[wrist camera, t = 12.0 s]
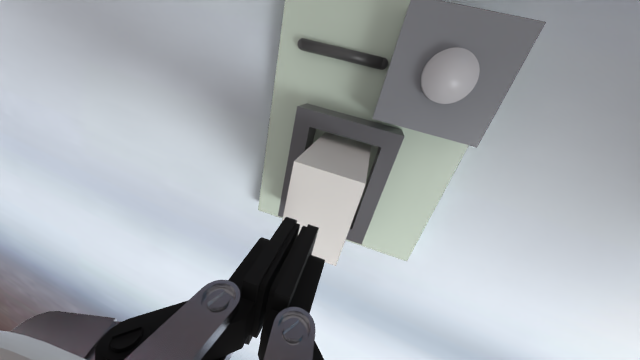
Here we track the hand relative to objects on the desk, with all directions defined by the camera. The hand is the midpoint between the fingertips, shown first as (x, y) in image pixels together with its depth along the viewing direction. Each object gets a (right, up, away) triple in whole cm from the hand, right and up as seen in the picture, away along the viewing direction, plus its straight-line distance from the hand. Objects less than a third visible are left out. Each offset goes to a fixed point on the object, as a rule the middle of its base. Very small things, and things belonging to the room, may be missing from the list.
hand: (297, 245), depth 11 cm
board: (+5, +7, +9) cm, 13 cm away
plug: (+3, +4, +9) cm, 11 cm away
